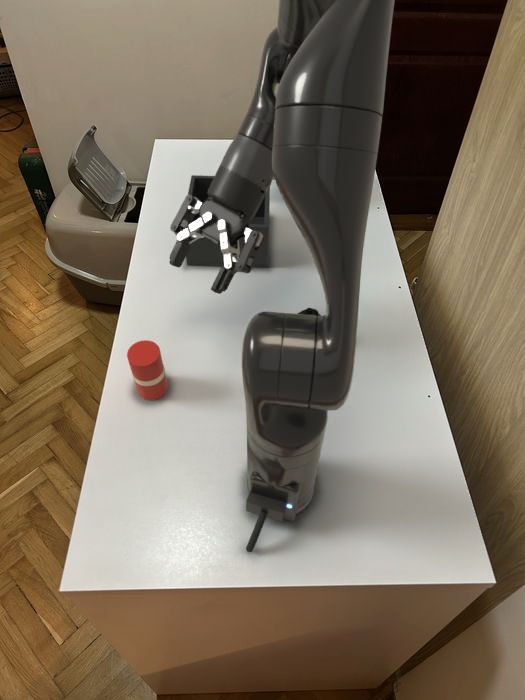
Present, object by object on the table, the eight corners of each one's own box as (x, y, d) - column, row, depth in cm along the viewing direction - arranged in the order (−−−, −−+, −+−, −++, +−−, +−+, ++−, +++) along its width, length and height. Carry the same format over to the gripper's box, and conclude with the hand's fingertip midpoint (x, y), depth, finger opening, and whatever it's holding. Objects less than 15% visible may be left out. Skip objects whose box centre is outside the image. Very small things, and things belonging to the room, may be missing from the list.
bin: (267, 268, 103) (268, 227, 95) (187, 265, 103) (181, 224, 95) (269, 218, 113) (270, 177, 105) (195, 215, 113) (191, 175, 105)
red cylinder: (160, 403, 83) (152, 369, 76) (132, 396, 84) (120, 361, 77) (172, 379, 86) (165, 344, 79) (145, 372, 87) (135, 336, 80)
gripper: (193, 149, 74) (145, 253, 78) (272, 188, 69) (216, 298, 72) (221, 166, 81) (175, 262, 84) (294, 203, 75) (243, 304, 79)
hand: (194, 278), depth 78 cm, fingers open, 8 cm apart
